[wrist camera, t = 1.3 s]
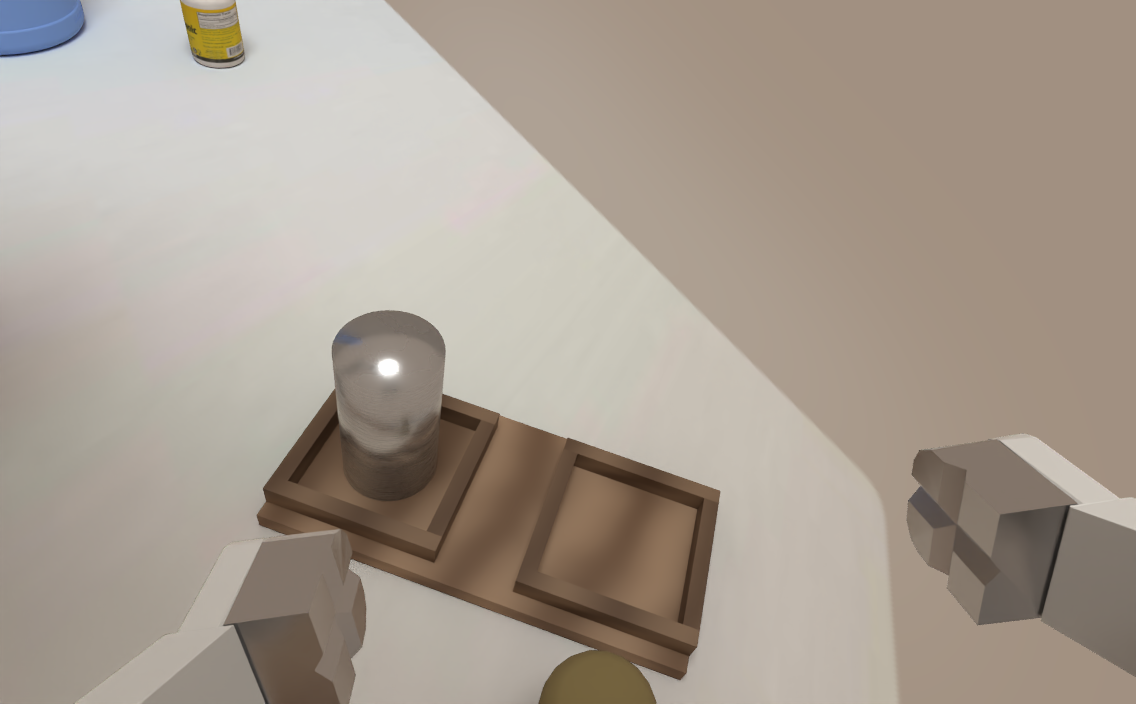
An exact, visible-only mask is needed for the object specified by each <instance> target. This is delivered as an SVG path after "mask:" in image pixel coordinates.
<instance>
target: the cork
mask: <svg viewBox="0 0 1136 704" xmlns="http://www.w3.org/2000/svg"><path fill="white" fill-rule="evenodd" d="M538 704H656V700H655V697H654V695H653V692H652V690H651V687H650V685H649V683H648V681H647V680H646V679H645V677H644V676H643V675H642V673H641V672H640V671H639V669H638V668H637V667H636V666H634V665H633V664H632V663H630V662H629V661H628V660H626V659H625V658H624V657H622V656H619V655H617V654H614V653H611V652H608V651H597V650H589V651H586V652H582V653H579V654H576V655H573V656H571V657H569V658H568V659H566V660H565V661H564V662H562V663H561V664H560V665H558V666H557V667H556V668H555V669H554V671H553V672H552V674H551V675H550V677H549V678H548V680H547V681H546V683H545V685H544V687H543V690H542V693H541V697H540V700H539V703H538Z"/></svg>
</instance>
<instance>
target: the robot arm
mask: <svg viewBox="0 0 1136 704" xmlns="http://www.w3.org/2000/svg"><path fill="white" fill-rule="evenodd" d="M912 476H913V477H914V478H915V480H916V481H917V482H918V484H919V485H920V487H919V488H918V489H917V491H916V492H915V493H914V494H913V495H912V497H911V498H910V499H909V500H908V510H907V524H908V528H909V533H910V537H911V540H912V542H913V544H914V546H915V548H916V550H917V552H918V553H919V555H920V556H921V557H922V558H923V560H924V561H925V562H926V563H927V565H928V566H930V567H932V568H934V569H936V570H939V571H941V572H943V573H945V574H947V575H948V583H947V589H948V590H949V592H950V593H951V594H952V595H953V596H954V598H955V599H956V600H957V601H958V603H959V604H960V605H961V606H962V607H963V609H964V610H965V611H966V612H967V613H968V614H969V616H970V617H971V618H972V619H973V621H974V622H975V623H976V624H977V625H984V624H992V623H1001V622H1009V621H1018V620H1026V619H1034V618H1041V621H1042V622H1043V623H1045V624H1047V625H1049V626H1050V627H1052V628H1054V629H1055V630H1057V631H1059V632H1060V633H1062V634H1064V635H1065V636H1067V637H1069V638H1070V639H1072V640H1074V641H1076V642H1077V643H1079V644H1081V645H1082V646H1084V647H1086V648H1088V649H1089V650H1091V651H1092V652H1094V653H1096V654H1098V655H1099V656H1101V657H1103V658H1104V659H1106V660H1108V661H1109V662H1111V663H1113V664H1114V665H1116V666H1118V667H1120V668H1121V669H1123V670H1125V671H1126V672H1128V673H1130V674H1131V675H1133V676H1135V677H1136V499H1135V498H1132V497H1131V498H1123V499H1120V498H1118V497H1117V496H1116V495H1114V494H1113V493H1111V492H1110V491H1109V490H1107V489H1106V488H1105V487H1103V486H1102V485H1101V484H1099V483H1098V482H1096V481H1095V480H1094V479H1092V478H1091V477H1090V476H1088V475H1087V474H1086V473H1084V472H1083V471H1081V470H1080V469H1079V468H1077V467H1076V466H1075V465H1073V464H1072V463H1070V462H1069V461H1068V460H1066V459H1065V458H1064V457H1062V456H1061V455H1060V454H1058V453H1057V452H1055V451H1054V450H1053V449H1051V448H1050V447H1049V446H1047V445H1046V444H1044V443H1043V442H1042V441H1040V440H1039V439H1038V438H1036V437H1034V436H1030V435H1027V434H1024V433H1022V434H1016V435H1010V436H1005V437H998V438H993V439H988V440H987V441H981V442H974V443H966V444H960V445H952V446H946V447H938V448H931V449H925V450H919V452H918V454H917V456H916V457H915V459H914V463H913V469H912ZM352 553H353V552H352V549H351V546H350V543H349V540H348V537H347V534H346V533H345V532H344V531H342V530H341V529H336V530H328V531H319V532H310V533H302V534H293V535H284V536H276V537H269V538H260V539H253V540H245V541H238V542H232V543H231V544H229V545H227V546H226V547H224V549H223V550H222V552H221V554H220V556H219V558H218V559H217V561H216V563H215V565H214V567H213V568H212V570H211V572H210V574H209V576H208V578H207V579H206V581H205V583H204V585H203V587H202V588H201V590H200V592H199V594H198V596H197V597H196V599H195V601H194V603H193V605H192V607H191V608H190V610H189V612H188V614H187V616H186V617H185V619H184V621H183V623H182V625H181V627H180V628H179V630H178V632H177V633H172V634H166V635H164V636H163V637H161V638H160V639H159V640H157V641H156V642H155V643H153V644H152V645H151V646H149V647H148V648H147V649H145V650H144V651H143V652H141V653H140V654H139V655H137V656H136V657H135V658H134V659H132V660H131V661H130V662H128V663H127V664H126V665H124V666H123V667H122V668H120V669H119V670H118V671H116V672H115V673H114V674H112V675H111V676H110V677H108V678H107V679H106V680H104V681H103V682H102V683H101V684H99V685H98V686H97V687H95V688H94V689H93V690H91V691H90V692H89V693H87V694H86V695H85V696H83V697H82V698H81V699H79V700H78V701H77V702H75V703H74V704H349V701H350V697H351V693H352V689H353V684H354V680H355V676H356V674H355V671H354V668H353V665H352V661H351V658H352V657H353V656H354V655H355V654H356V653H357V652H358V651H359V650H360V649H361V648H362V645H363V640H364V635H365V630H366V603H365V595H364V590H363V586H362V583H361V579H360V577H359V576H358V575H356V574H355V573H353V572H352V571H351V570H349V569H348V568H349V564H350V560H351V557H352Z"/></svg>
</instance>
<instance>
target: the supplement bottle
mask: <svg viewBox="0 0 1136 704" xmlns="http://www.w3.org/2000/svg"><path fill="white" fill-rule="evenodd" d="M180 3H181V8H182V12H183V17H184V21H185V25H186V29H187V34H188V38H189V42H190V47H191V51H192V55H193V57H194V59H195V60H196V61H197V62H199V63H200V64H202V65H205V66H208V67H215V68H226V67H232V66H235V65H238V64H240V63H241V62H242V61H243V60H244V57H245V54H244V48H243V42H242V36H241V31H240V25H239V19H238V13H237V7H236V2H235V0H180Z"/></svg>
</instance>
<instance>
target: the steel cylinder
mask: <svg viewBox="0 0 1136 704" xmlns="http://www.w3.org/2000/svg"><path fill="white" fill-rule="evenodd" d="M445 352H446V351H445V344H444V340H443V338H442V336H441V334H440V333H439V331H438V330H437V329H436V328H435V327H434V326H433V325H432V324H431V323H429V322H428V321H426V320H425V319H423V318H421V317H419V316H416V315H414V314H410V313H407V312H402V311H389V310H386V311H376V312H371V313H367V314H364V315H362V316H359V317H357V318H355V319H353V320H352V321H350V322H348V323H347V324H346V325H345V326H344V327H343V328H342V329H341V330H340V331H339V332H338V334H337V335H336V337H335V339H334V341H333V345H332V360H333V370H334V380H335V390H336V400H337V410H338V420H339V430H340V440H341V450H342V460H343V470H344V474H345V477H346V479H347V481H348V482H349V484H350V485H351V486H352V487H353V488H354V489H355V490H356V491H357V492H358V493H360V494H362V495H363V496H365V497H368V498H370V499H374V500H378V501H397V500H402V499H405V498H408V497H410V496H413V495H415V494H416V493H418V492H419V491H421V490H422V489H423V488H424V487H425V486H426V485H427V484H428V483H429V482H430V481H431V479H432V477H433V475H434V473H435V470H436V466H437V454H438V441H439V428H440V416H441V403H442V390H443V377H444V365H445Z"/></svg>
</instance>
